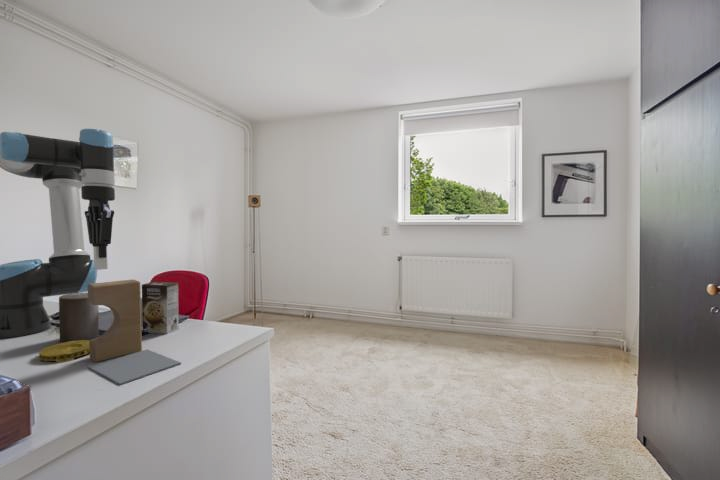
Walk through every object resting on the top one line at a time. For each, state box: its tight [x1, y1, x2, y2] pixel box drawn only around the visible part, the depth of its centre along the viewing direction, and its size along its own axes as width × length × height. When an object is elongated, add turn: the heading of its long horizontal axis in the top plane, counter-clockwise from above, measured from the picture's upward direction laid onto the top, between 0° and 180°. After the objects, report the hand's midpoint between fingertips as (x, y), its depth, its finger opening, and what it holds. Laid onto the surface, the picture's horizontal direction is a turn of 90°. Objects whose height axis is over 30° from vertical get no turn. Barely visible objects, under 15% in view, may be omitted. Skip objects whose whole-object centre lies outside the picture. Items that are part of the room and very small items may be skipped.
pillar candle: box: [58, 291, 100, 343], centre depth 108 cm, size 10×10×15 cm
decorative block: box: [87, 279, 143, 363], centre depth 95 cm, size 11×6×20 cm, turn 136°
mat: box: [87, 349, 182, 386], centre depth 88 cm, size 17×14×1 cm
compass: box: [38, 340, 90, 363], centre depth 96 cm, size 12×12×2 cm
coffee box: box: [141, 281, 180, 335], centre depth 117 cm, size 9×6×16 cm
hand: (100, 269), depth 99 cm, fingers closed
